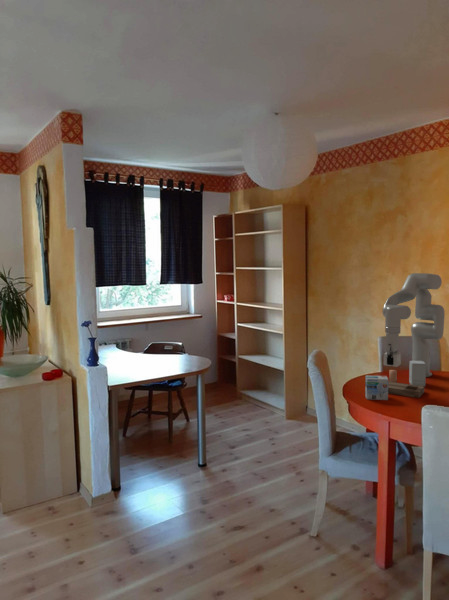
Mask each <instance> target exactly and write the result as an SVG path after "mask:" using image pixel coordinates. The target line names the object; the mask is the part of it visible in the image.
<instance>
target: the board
mask: <svg viewBox="0 0 449 600" xmlns="http://www.w3.org/2000/svg"><path fill="white" fill-rule="evenodd" d="M425 387H426V385H425V386H418V385H411V384H410V383H403V382H402V383H401V382H397V383H396V382H389V380H388V395H395V396H396V395H397V396H402V397H408V398H409V397H410V398H416V399H421V397H422V395H423V394H424V393H425Z"/></svg>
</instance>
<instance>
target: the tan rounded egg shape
mask: <svg viewBox="0 0 449 600" xmlns="http://www.w3.org/2000/svg"><path fill="white" fill-rule="evenodd" d="M388 371H389V373H388V375H389V376H388V381H389V382H396V383H398V378H397V377H398V375H397V374H398V371H397V370H396V369H389V370H388Z"/></svg>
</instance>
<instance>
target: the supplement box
mask: <svg viewBox="0 0 449 600" xmlns="http://www.w3.org/2000/svg"><path fill="white" fill-rule="evenodd" d="M408 364H409V365H408V366H409V367H408V368H409V369H408V370H409V372H408V374H409V375H408V377H409V378H408V382H409V383H408V384H410V385H418V386H425V387H426V378H427V377H426V363H424V362H423V361H412V360H409V363H408Z"/></svg>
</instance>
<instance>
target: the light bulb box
mask: <svg viewBox="0 0 449 600" xmlns="http://www.w3.org/2000/svg"><path fill="white" fill-rule="evenodd" d="M388 381H389V377H388V376H387V375H365V385H364V386H365V388H364V389H365V391H364V394H365V395H364V396H365V399H366V400H374V401H375V400H378V401H379V400H380V401H389V393H388Z"/></svg>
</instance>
